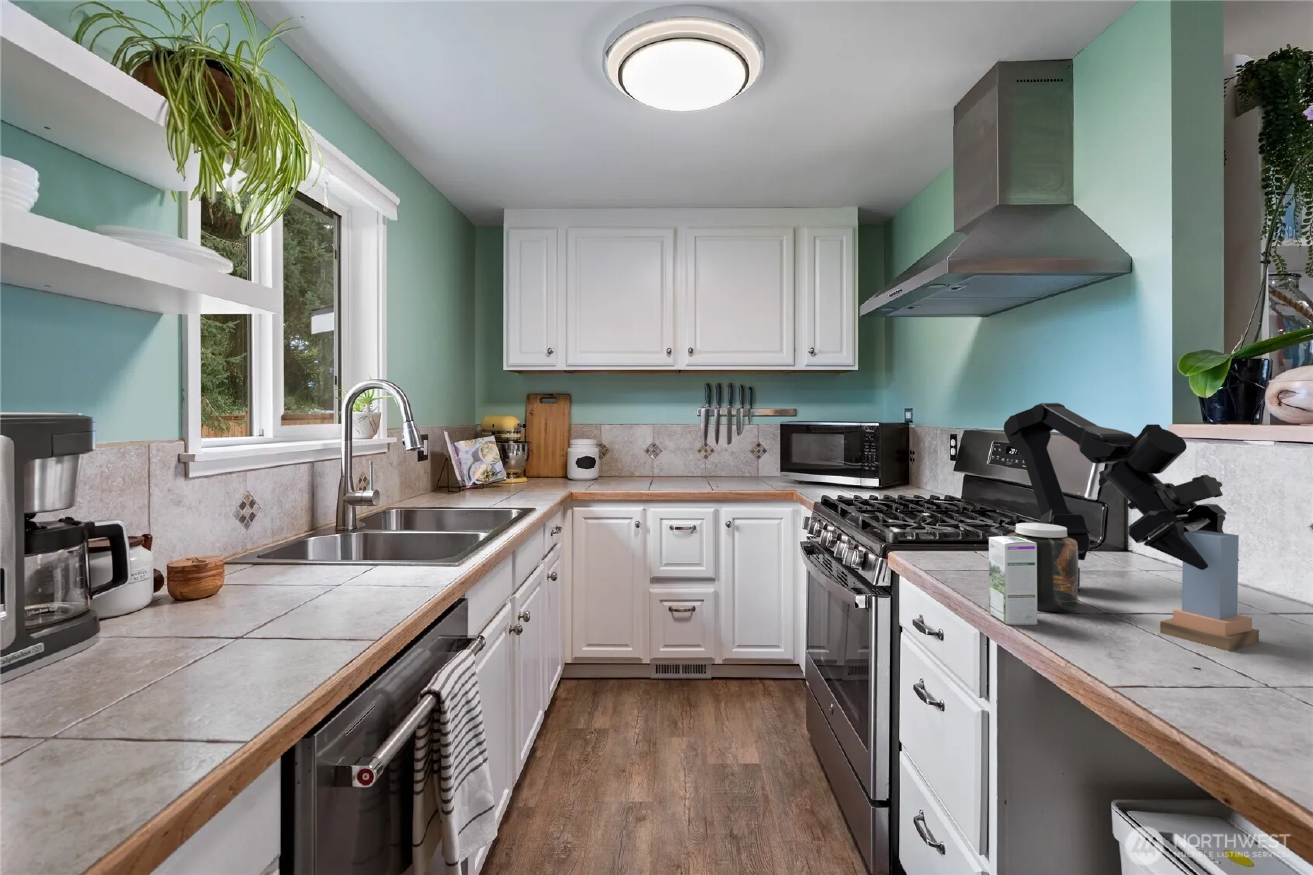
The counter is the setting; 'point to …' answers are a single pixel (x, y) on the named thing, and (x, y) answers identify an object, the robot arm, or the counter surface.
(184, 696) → the counter surface
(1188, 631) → the walnut block
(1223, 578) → the slate blue block
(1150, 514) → the robot arm
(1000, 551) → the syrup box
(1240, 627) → the terracotta block
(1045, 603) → the jar
